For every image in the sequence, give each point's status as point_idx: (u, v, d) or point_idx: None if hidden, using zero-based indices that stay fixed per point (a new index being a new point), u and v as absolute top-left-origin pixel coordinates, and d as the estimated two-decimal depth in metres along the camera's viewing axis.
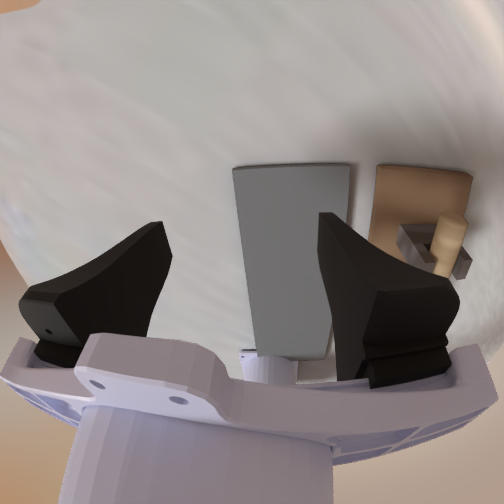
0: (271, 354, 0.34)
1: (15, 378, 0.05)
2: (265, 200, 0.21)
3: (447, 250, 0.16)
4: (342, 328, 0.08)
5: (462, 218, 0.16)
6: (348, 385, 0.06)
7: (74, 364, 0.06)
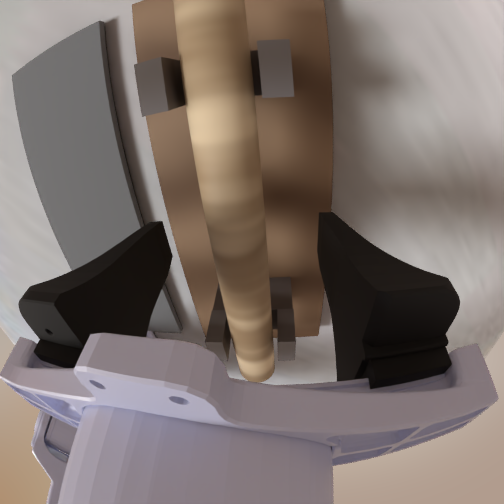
0: None
1: (15, 378, 0.05)
2: (32, 93, 0.11)
3: (186, 27, 0.06)
4: (342, 328, 0.08)
5: None
6: (348, 385, 0.06)
7: (74, 364, 0.06)
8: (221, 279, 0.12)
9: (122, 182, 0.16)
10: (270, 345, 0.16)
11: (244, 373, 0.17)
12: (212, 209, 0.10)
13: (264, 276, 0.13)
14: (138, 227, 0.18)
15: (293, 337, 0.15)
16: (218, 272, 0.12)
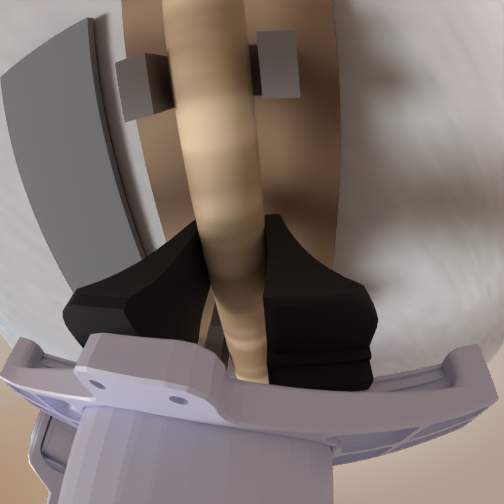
0: None
1: (15, 378, 0.05)
2: (20, 96, 0.10)
3: (174, 17, 0.05)
4: None
5: None
6: None
7: None
8: (217, 299, 0.11)
9: (113, 189, 0.15)
10: None
11: None
12: (206, 226, 0.09)
13: None
14: (131, 237, 0.16)
15: None
16: (214, 292, 0.11)
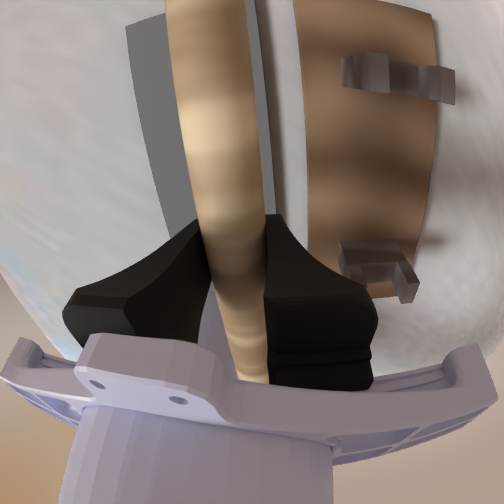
0: None
1: (15, 378, 0.05)
2: (158, 48, 0.13)
3: (175, 21, 0.05)
4: None
5: None
6: None
7: None
8: (218, 295, 0.12)
9: (266, 147, 0.18)
10: None
11: None
12: (206, 224, 0.09)
13: None
14: (272, 191, 0.20)
15: (417, 280, 0.16)
16: (215, 288, 0.12)
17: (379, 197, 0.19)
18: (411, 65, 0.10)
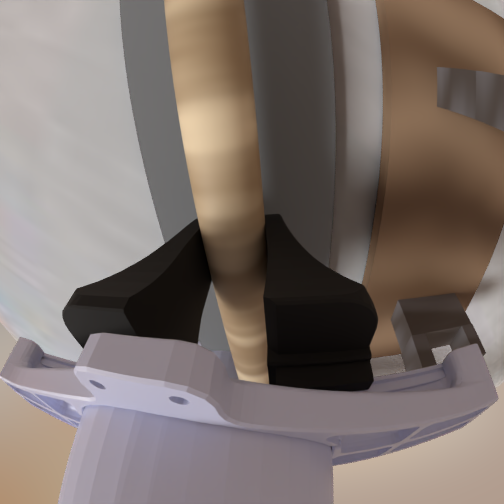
0: (225, 348, 0.20)
1: (15, 378, 0.05)
2: None
3: (174, 22, 0.05)
4: None
5: None
6: None
7: None
8: (217, 295, 0.12)
9: (328, 181, 0.12)
10: None
11: None
12: (206, 223, 0.09)
13: None
14: (328, 242, 0.14)
15: (483, 349, 0.11)
16: (214, 287, 0.12)
17: (451, 249, 0.13)
18: None
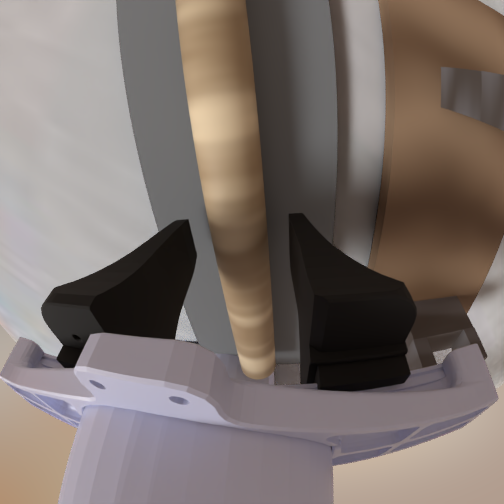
0: (224, 351, 0.20)
1: (15, 378, 0.05)
2: (165, 18, 0.08)
3: (186, 27, 0.06)
4: (302, 331, 0.08)
5: None
6: None
7: None
8: (221, 275, 0.13)
9: (329, 184, 0.12)
10: (270, 343, 0.16)
11: (244, 369, 0.17)
12: (212, 205, 0.10)
13: (264, 274, 0.13)
14: None
15: (484, 353, 0.11)
16: (218, 267, 0.13)
17: (454, 252, 0.13)
18: None
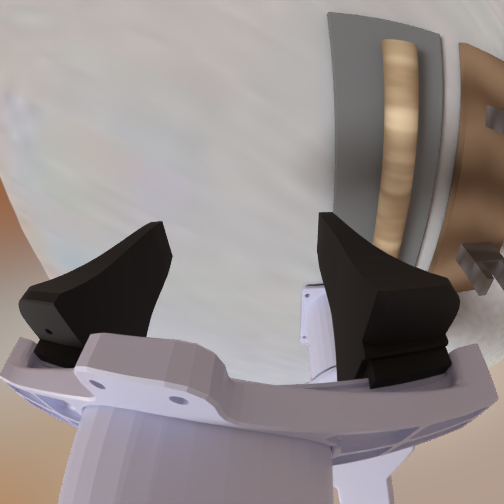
0: None
1: (15, 378, 0.05)
2: (364, 48, 0.13)
3: (398, 68, 0.12)
4: (342, 328, 0.08)
5: None
6: (348, 385, 0.06)
7: (74, 364, 0.06)
8: (385, 211, 0.18)
9: (434, 163, 0.17)
10: None
11: None
12: (395, 166, 0.16)
13: (407, 212, 0.18)
14: (430, 200, 0.19)
15: None
16: (384, 206, 0.18)
17: (489, 210, 0.18)
18: None
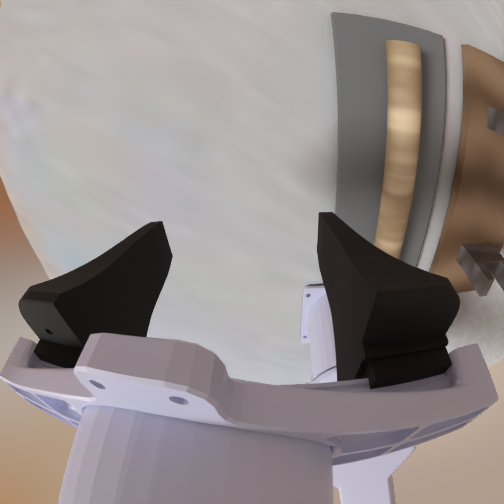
0: None
1: (15, 378, 0.05)
2: (368, 49, 0.13)
3: (401, 69, 0.12)
4: (342, 328, 0.08)
5: None
6: (348, 385, 0.06)
7: (74, 364, 0.06)
8: (388, 211, 0.18)
9: (436, 164, 0.17)
10: None
11: None
12: (398, 166, 0.16)
13: (409, 212, 0.18)
14: (431, 201, 0.19)
15: None
16: (386, 207, 0.18)
17: (490, 211, 0.18)
18: None
